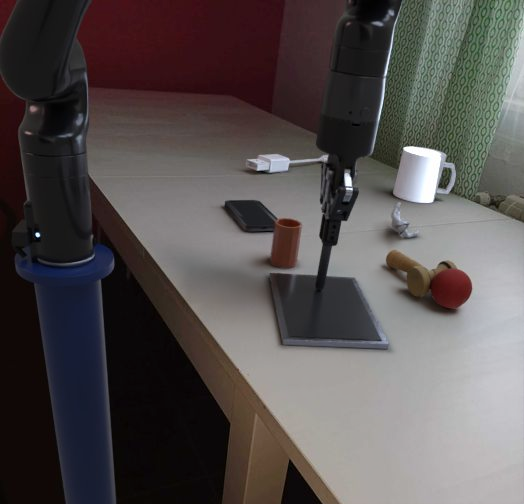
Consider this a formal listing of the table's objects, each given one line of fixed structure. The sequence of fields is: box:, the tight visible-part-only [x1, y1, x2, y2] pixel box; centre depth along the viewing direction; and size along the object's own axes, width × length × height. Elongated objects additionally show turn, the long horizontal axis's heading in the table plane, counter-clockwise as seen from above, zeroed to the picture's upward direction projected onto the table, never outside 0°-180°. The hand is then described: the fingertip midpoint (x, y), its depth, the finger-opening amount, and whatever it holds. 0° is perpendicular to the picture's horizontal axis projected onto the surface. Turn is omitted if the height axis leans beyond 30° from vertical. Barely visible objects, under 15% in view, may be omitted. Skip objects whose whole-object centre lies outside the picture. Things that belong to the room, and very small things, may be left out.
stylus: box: [315, 210, 339, 291], centre depth 78 cm, size 1×1×13 cm
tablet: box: [268, 272, 390, 350], centre depth 78 cm, size 14×20×1 cm
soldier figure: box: [390, 202, 420, 239], centre depth 109 cm, size 8×5×12 cm
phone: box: [224, 199, 279, 233], centre depth 108 cm, size 8×1×15 cm
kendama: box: [385, 249, 473, 309], centre depth 87 cm, size 8×6×18 cm
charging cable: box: [245, 153, 329, 174], centre depth 145 cm, size 5×32×3 cm, turn 133°
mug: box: [392, 146, 457, 204], centre depth 130 cm, size 14×10×11 cm
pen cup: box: [269, 217, 303, 269], centre depth 89 cm, size 4×4×7 cm
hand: (327, 241), depth 77 cm, fingers closed on stylus, 1 cm apart
